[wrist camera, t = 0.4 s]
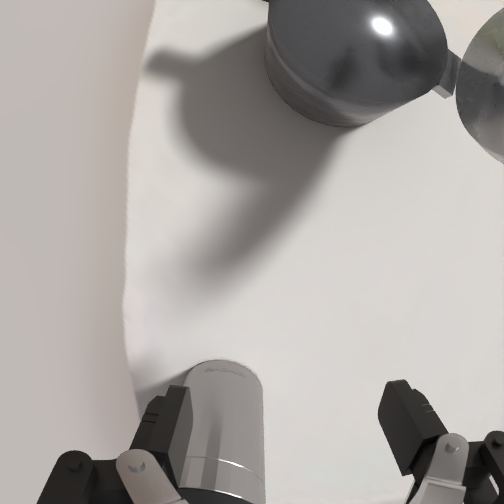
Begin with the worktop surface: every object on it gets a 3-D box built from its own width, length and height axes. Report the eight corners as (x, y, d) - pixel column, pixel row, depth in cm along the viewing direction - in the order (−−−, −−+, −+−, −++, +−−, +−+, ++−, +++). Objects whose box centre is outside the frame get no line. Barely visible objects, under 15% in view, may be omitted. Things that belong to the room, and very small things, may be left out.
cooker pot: (384, 158, 28) (437, 149, 18) (195, 73, 26) (168, 28, 16) (421, 55, 25) (469, 21, 15) (253, -22, 23) (252, -79, 14)
